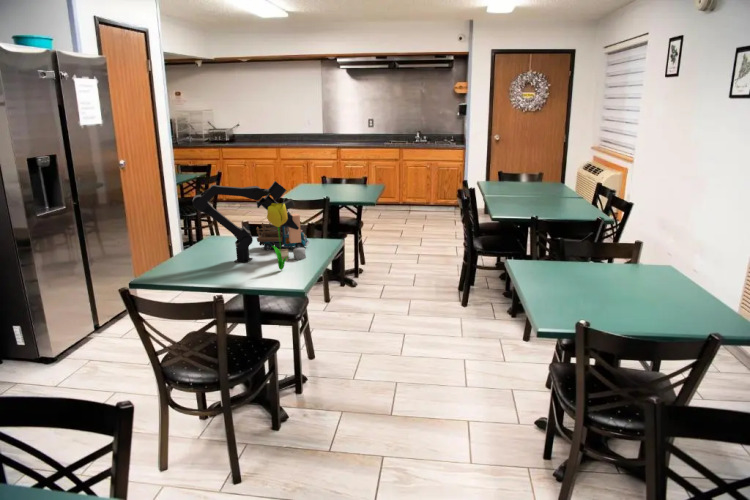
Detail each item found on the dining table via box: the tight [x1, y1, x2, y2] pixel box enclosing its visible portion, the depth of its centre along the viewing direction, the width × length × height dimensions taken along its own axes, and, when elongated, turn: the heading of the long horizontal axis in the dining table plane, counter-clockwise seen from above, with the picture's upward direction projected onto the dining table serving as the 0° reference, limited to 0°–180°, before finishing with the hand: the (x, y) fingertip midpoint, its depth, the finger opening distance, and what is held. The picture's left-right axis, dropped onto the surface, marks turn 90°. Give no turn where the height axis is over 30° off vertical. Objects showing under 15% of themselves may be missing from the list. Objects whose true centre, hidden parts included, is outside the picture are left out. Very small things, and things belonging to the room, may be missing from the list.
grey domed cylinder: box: [292, 247, 307, 261], centre depth 251 cm, size 6×6×4 cm
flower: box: [266, 202, 288, 272], centre depth 229 cm, size 9×8×30 cm
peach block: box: [287, 213, 302, 243], centre depth 253 cm, size 5×5×13 cm
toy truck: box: [255, 222, 310, 251], centre depth 268 cm, size 11×25×15 cm, turn 86°
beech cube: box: [278, 248, 290, 262], centre depth 249 cm, size 4×4×4 cm
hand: (297, 227), depth 253 cm, fingers closed on peach block, 5 cm apart
